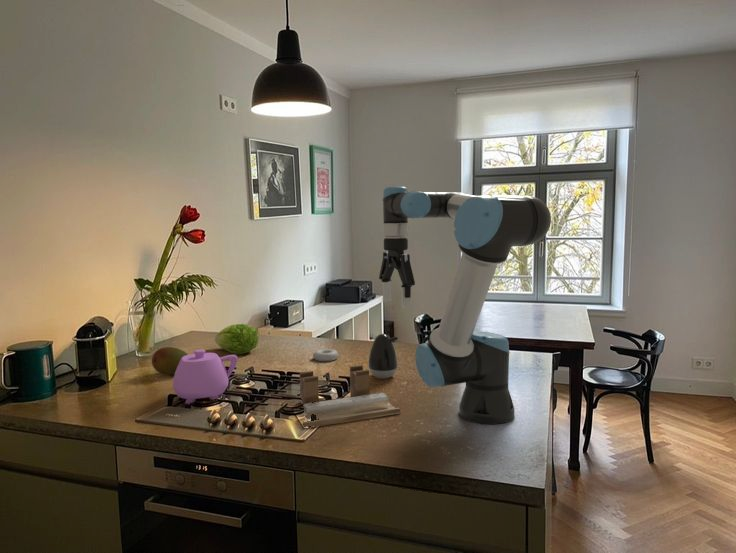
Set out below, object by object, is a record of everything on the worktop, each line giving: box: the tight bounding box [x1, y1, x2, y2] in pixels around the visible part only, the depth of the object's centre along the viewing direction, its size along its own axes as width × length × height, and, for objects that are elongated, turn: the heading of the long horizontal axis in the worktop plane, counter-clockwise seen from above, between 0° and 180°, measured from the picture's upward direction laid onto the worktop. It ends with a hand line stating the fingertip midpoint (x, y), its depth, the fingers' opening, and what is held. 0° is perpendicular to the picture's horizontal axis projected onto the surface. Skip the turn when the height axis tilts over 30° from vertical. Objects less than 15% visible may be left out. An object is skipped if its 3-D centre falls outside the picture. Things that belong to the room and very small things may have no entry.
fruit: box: [151, 346, 189, 375], centre depth 190 cm, size 12×12×10 cm
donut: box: [312, 348, 339, 362], centre depth 208 cm, size 10×3×10 cm
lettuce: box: [214, 323, 259, 355], centre depth 221 cm, size 13×22×14 cm
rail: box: [303, 392, 389, 419], centre depth 149 cm, size 4×24×4 cm, turn 111°
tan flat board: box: [301, 401, 401, 427], centre depth 149 cm, size 12×28×1 cm, turn 111°
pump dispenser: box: [368, 333, 399, 380], centre depth 183 cm, size 10×10×15 cm
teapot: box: [172, 348, 239, 405], centre depth 167 cm, size 20×20×15 cm
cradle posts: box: [299, 364, 370, 404], centre depth 159 cm, size 6×20×9 cm, turn 111°
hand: (396, 305), depth 165 cm, fingers open, 13 cm apart
